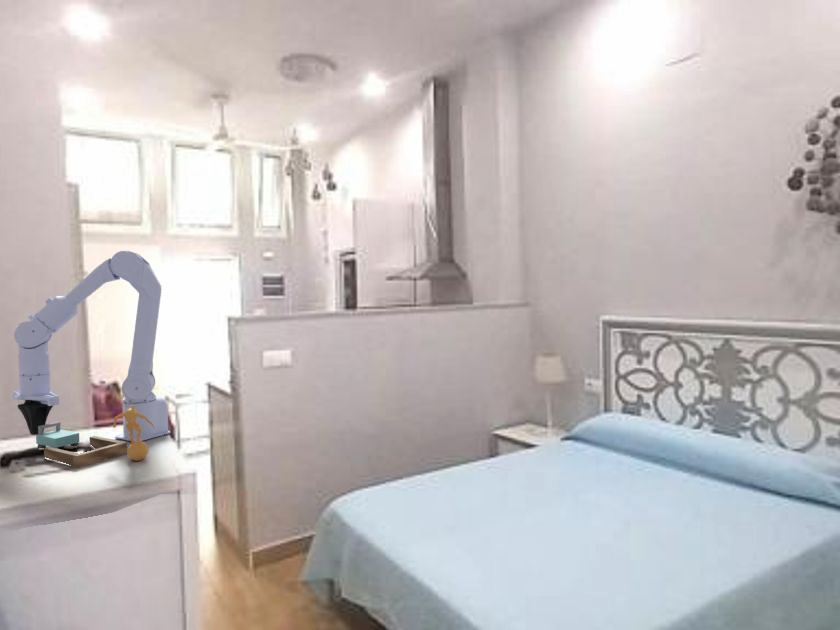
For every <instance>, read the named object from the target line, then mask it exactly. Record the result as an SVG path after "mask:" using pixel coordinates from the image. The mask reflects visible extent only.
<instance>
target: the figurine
mask: <svg viewBox="0 0 840 630" xmlns="http://www.w3.org/2000/svg"><path fill="white" fill-rule="evenodd" d="M123 416H124V417H125V419H126V420H127V422H128V423H126V428H127V429H128V430H129V431H130V432H131V433H130V434H129V437H130V440H131V441H130V444H129V445H128V446H127V457H128V458H129V459H130V460H132V461H135V462H138V461H142V460H144V459H145V458H146V457H147V456H148V453H149V446H148V445H147V444H146V442H144V441H140V439H139V437H140V436H141V432H142V429H141V427H140V425H139V423H137V424H136V418H137V416H138V417H140V418H143V419H145V420H146V421H147V422H148V423H149V424H151V425H152V426H153V428H154V425H153V424H152V422H151V421H149V420H148V419H147V417H145V416H143V415H141V414H139V413H137V412H136V411H135V407H134V406H133V405H131V406H130V407H129V409H128V410H127V411H125V412H123V411H122V413H120V414H118V415H116V416H114V419H113V425H112V428H113V429H116V428H117V420H118V419H120V418H123ZM134 428H135V430H136V431H139V433H138V434H137V441H134V440H133V439H132V436H133V429H134Z"/></svg>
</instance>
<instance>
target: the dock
mask: <svg viewBox="0 0 840 630" xmlns="http://www.w3.org/2000/svg"><path fill="white" fill-rule="evenodd" d="M90 445H92V446H93V447H94V448H95V449H94V450H91V451H87V452H83V453H80V454H78V453H74V451H69V450H66V449H65V450H64V449H60V448H59V449H57V448H52V447H49V446H47V447H46V448H44V451H43V454H44V455H43V458H44V457H46V458H49V459H52V460H57V461H60V462H63V463H66V464H69V465H71V466H73V467H72V468H75V469H77V468H81V467H82V468H83V467H85V466H89V465H92V464H95V463H98V462H103V461H106V460H110V459H113V458H116V457H119V456H124V455H126V453H127V449H128V441H124V440H123V441H122V440H117V439H112V438H109V437H108V438H107V437H102V436H98V435H93V436H89V446H90ZM71 466H70V467H71Z"/></svg>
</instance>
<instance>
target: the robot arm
mask: <svg viewBox="0 0 840 630" xmlns="http://www.w3.org/2000/svg"><path fill="white" fill-rule="evenodd" d="M121 279H122V280H124V281H126V282H127V283H128V284H130V285H131V286H132V287H133V288H134V289H135V291H136V292H137V293H138V301H137V308H136V318H135V324H134V333H133V339H132V347H131V356H130V357H131V358H130V362H129V366H128V371H127V375H126V378H125V379H124V381H123V382H122V384H121V393H122V395H123V398H122V413H123V412H125V411H127V410H128V409H129V407H130V406H131V405H133V406H134V407H135V411H136V412H137V413H139V414H141V415H143V416H145V417H147V419H148V420H149V421H151V422H152V424H153V425H154V428H153V426H152V425H151V424H149V423H148V422H147V421H146V420H145V419H143V418H140V417H138V416H137V418H136V424H137V423H139V425H140V427H141V429H142V432H141V436H140V437H139V439H140V441H142V442H144V441H146V440H150V439H153V438H158V437H160V436H161V437H162V436H164V434H165V435H169V434H171V431H170V430H169V408H168V404H167V401H166V399H165V398H163V397H161V396H157V395H155V394H154V392H153V391H152V390H153V389H154V388H155V386H156V378H155V375H154V372H153V371H154V370H153V369H154V352H155V346H156V344H155V343H156V336H157V330H158V322H159V321H158V320H159V312H160V306H161V297H162V285H161V282H160V280H158V277H157V276H156V274H155V272H154V270H153V268H152V267H151V264H150V263H149V262H148V261H147V259H145V258H144V257H143V256H142V255H140V254H138V253H137V252H133V251H131V250H120V251H118V252H116V253H115V254H114V255H112V257H111V258H110V257H109V258H107V259H105V260H104V261H103V262H101V264H99V265H98V266H96V267H95V268H94V269H93V270H92V271H91V272H90V273H89V274H88V275H87V276H86V277H85V278H83V279H82V280H81V281H80V282H79V283H78V284H77V285H76V286H75V287H73V289H72V290H70V291H69V292H68V293H67V294H66V295H56V296H55V297H53V298H52V297H49V298H47V299H46V300H45V301H44V302H45V305H44V306H42V307H41V308H40V309H39V310H38V311H37V312H36V313H31V314H30V315H29V316H27V317H28V318H29V320H26V321H22V322H21V323H19V324H18V326H17V327H16V328H15V330H14V332H13V338H14V341H15V342H16V343H17V344H18V345H17V347H18V377H19V390H14V391H12V400H13V401H24V402H23V403H20V404H18V405H17V409H19V411H20V412H21V414H22V416H23V417H24V419H25V423H26V425H27V426H26V427H27V428H28V431H29V433H30V435H32V436H36V435H37V434H38V426H41V425H46V423H47V419H48V416H49V414H50V412H51V410H52V408H53V407H54V406H57V405H60V396H59V395H56V394H55V393H53V392H52V391H51V377H50V376H51V375H50V352H49V341H50V340H51V338H52V335H53V334H55V333H57V332H58V331H60V329H61V328H63V327H64V326H65V325H66V324H67V323H68V322H69V321H71V320H72V319H73V318H74V317H75V316H76V315H77V314H78V305H80V304H81V303H82V302H84V301H85V300H86V299H87V298H88V297H90V296H91V295H92V294H93V293H95V292H96V291H97V290H99V289H100V288H101V287H103V285H105V284H106V283H110V282H114V281H119V280H121ZM122 422H123V423H122V425H123V427H122V430H123V432H122V434H118V435H115V436H114V438H115V439H119V440H123V441H127V442H128V441H129V442H131V440H130V437H129V434H130V433H131V432H130V431H129V430H128V429H127V428H126V423H128V422H127V420H126V419H125V417H124V416H123V417H122ZM44 430H45V428H44V429H43V432H45V431H44ZM138 433H139V431H136V430H135V428H134V429H133V436H132V439H133V440H134V441H137V434H138Z"/></svg>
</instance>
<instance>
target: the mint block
mask: <svg viewBox="0 0 840 630" xmlns="http://www.w3.org/2000/svg"><path fill="white" fill-rule="evenodd" d="M52 427H55V429H54V430H52V431H45V432H44V431H43V429H44V430H45V429H49V428H52ZM35 439H36V440H35V441H36V442H35V443H36V444H37V449H38V448H47V447H52V448H57V449H60V447H65V446H70V445H71V446H77V445H79V443H80V433H79V432H76V431H71V430H65V429H61V422H60V421H57V422H56V421H55V422H51V423H47V424H46V423H45V425H41V426H38V434H37V435H35Z"/></svg>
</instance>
